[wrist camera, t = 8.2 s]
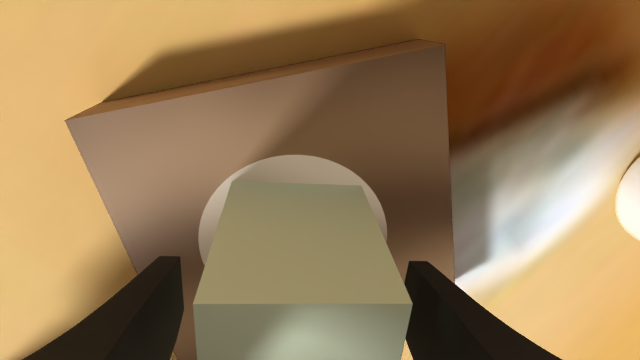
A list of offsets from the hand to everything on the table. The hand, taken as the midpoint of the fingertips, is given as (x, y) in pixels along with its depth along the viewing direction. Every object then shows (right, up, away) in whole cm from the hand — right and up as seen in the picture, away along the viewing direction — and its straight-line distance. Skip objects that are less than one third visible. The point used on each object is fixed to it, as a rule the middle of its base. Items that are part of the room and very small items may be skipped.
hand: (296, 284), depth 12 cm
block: (0, +1, +2) cm, 2 cm away
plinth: (0, +2, +4) cm, 5 cm away
